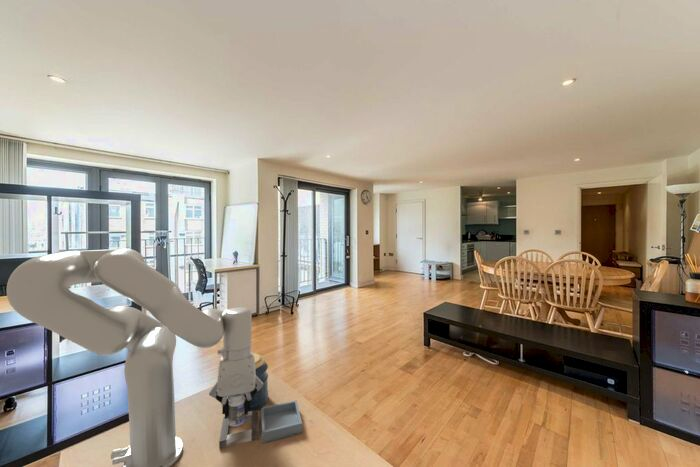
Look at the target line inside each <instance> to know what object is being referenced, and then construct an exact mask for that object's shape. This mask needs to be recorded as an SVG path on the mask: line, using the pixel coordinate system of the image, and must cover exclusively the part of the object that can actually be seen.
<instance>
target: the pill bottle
mask: <svg viewBox="0 0 700 467" xmlns="http://www.w3.org/2000/svg"><path fill="white" fill-rule="evenodd" d="M244 421H245V397H244V394H238V395H232V396H230V400H229V401H228V424H229V425H230V426H229V427H238V426H241V425H243V422H244Z"/></svg>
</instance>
